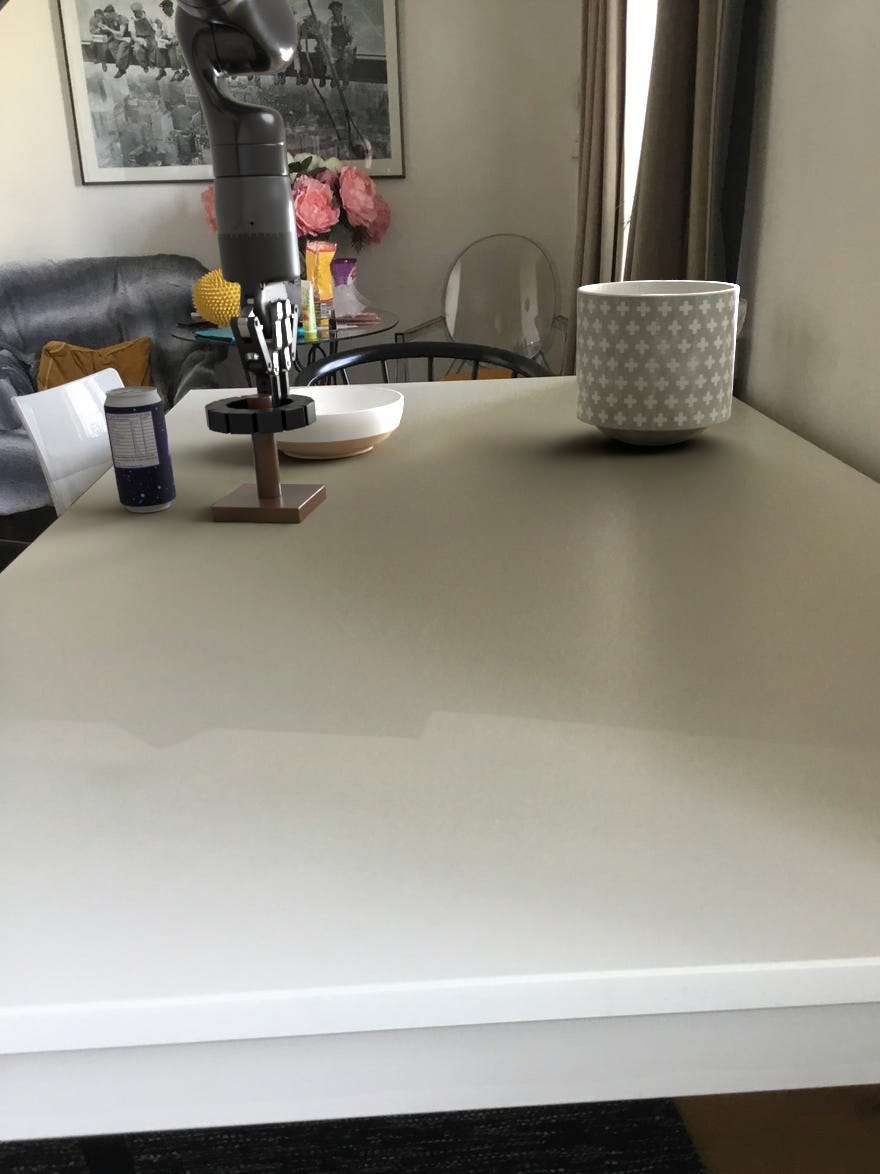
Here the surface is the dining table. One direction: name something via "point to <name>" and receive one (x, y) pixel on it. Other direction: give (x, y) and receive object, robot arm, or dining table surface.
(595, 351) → the planter
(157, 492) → the beverage can
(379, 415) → the bowl
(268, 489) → the stand
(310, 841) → the dining table surface
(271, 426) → the ring
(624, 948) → the dining table surface
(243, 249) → the robot arm
